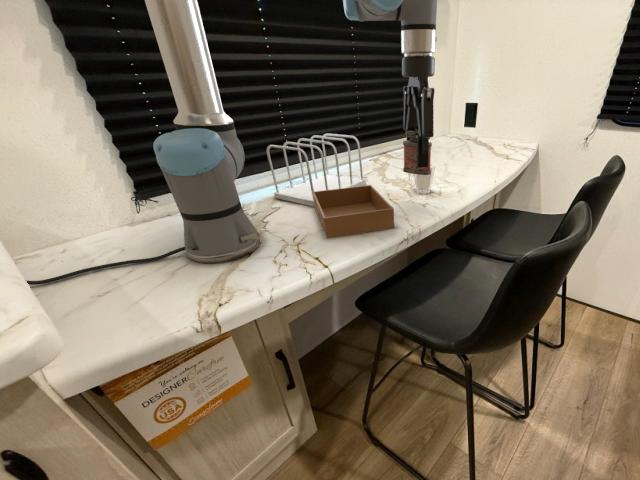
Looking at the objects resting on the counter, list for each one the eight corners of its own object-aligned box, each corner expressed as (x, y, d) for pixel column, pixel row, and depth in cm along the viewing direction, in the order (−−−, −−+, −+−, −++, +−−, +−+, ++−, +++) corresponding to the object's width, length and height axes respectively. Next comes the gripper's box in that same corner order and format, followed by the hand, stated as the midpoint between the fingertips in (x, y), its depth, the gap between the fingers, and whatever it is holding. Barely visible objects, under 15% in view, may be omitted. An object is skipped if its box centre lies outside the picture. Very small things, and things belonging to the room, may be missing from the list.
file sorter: (328, 178, 119) (322, 131, 110) (366, 185, 111) (363, 135, 102) (274, 198, 102) (261, 143, 93) (315, 208, 94) (305, 149, 85)
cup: (423, 196, 101) (424, 169, 96) (401, 189, 107) (401, 163, 102) (438, 191, 105) (440, 165, 100) (417, 185, 111) (417, 160, 106)
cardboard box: (326, 238, 77) (323, 218, 74) (315, 209, 93) (312, 191, 90) (394, 227, 82) (393, 208, 79) (372, 201, 98) (370, 184, 95)
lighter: (432, 172, 87) (434, 131, 81) (426, 175, 85) (428, 133, 79) (407, 169, 91) (407, 129, 85) (400, 172, 88) (400, 131, 82)
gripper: (453, 53, 66) (446, 171, 80) (417, 56, 82) (416, 154, 95) (419, 54, 64) (417, 174, 78) (388, 57, 80) (391, 157, 93)
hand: (416, 163), depth 86 cm, fingers closed on lighter, 7 cm apart
